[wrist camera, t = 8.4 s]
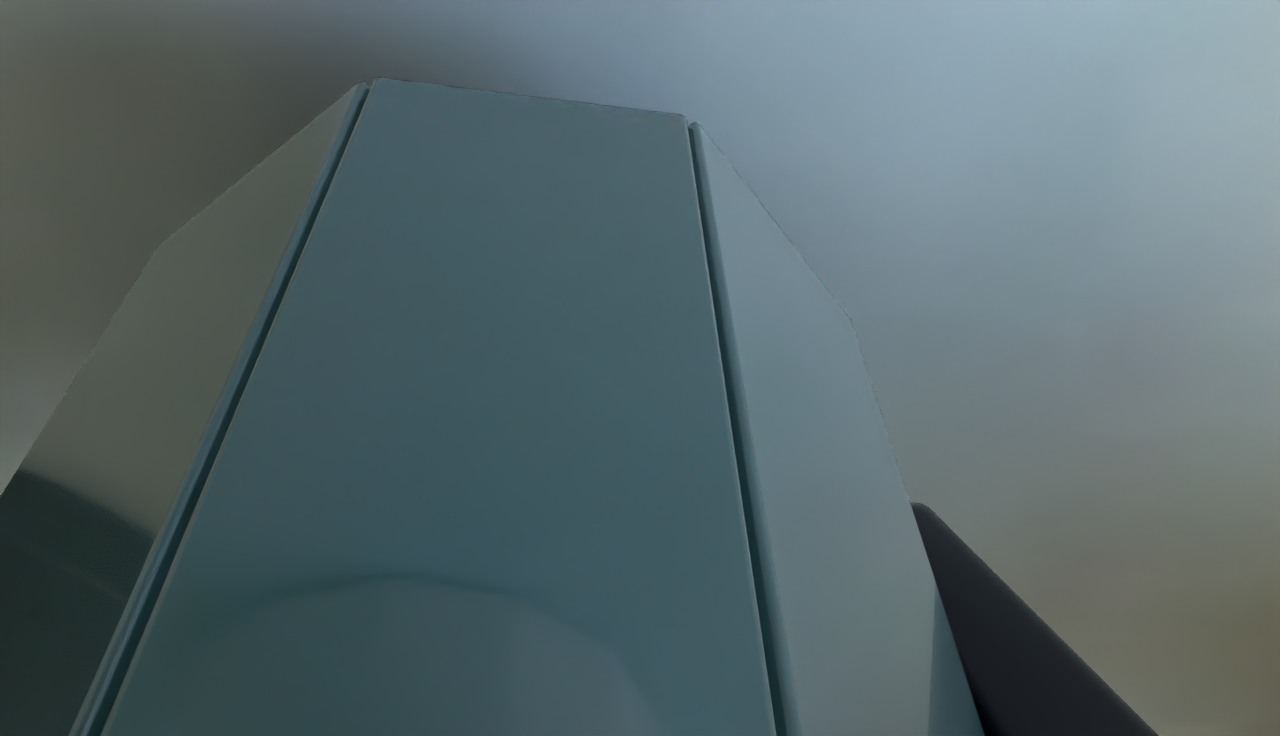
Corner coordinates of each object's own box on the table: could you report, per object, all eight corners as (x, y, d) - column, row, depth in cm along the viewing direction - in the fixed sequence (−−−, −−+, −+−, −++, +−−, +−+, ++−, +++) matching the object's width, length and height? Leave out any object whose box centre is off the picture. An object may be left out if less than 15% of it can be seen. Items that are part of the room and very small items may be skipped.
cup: (949, 443, 11) (1325, 1422, 5) (477, 694, 13) (382, 1597, 7) (548, -73, 8) (418, 879, 2) (21, 355, 10) (-734, 1422, 4)
